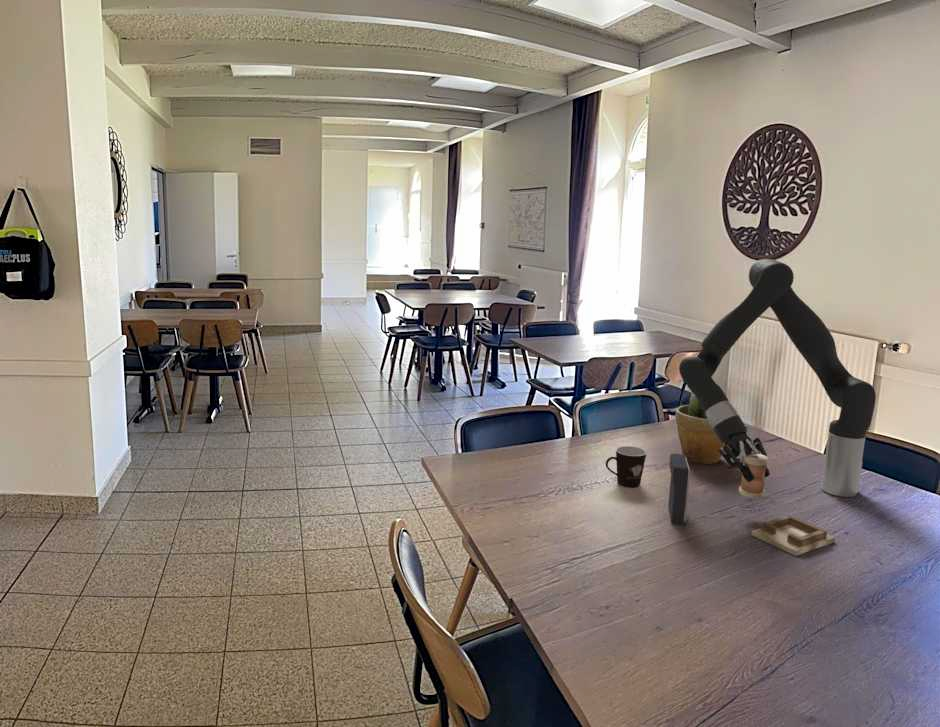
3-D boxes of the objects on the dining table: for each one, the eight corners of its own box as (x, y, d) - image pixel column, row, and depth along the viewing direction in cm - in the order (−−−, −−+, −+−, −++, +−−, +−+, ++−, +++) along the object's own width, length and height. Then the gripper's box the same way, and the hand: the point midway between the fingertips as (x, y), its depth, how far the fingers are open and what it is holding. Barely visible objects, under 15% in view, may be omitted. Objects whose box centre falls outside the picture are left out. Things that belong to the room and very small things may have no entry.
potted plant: (659, 452, 229) (665, 379, 224) (702, 446, 237) (709, 374, 231) (699, 471, 213) (706, 392, 207) (744, 463, 220) (752, 387, 215)
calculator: (686, 525, 175) (691, 469, 172) (668, 523, 176) (673, 467, 173) (682, 507, 185) (687, 454, 182) (665, 506, 186) (670, 453, 183)
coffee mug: (641, 479, 205) (644, 447, 203) (645, 490, 197) (648, 456, 195) (601, 476, 206) (604, 444, 204) (604, 487, 198) (606, 454, 196)
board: (790, 522, 178) (791, 511, 177) (834, 542, 168) (836, 530, 167) (751, 535, 170) (752, 523, 170) (795, 555, 160) (797, 544, 160)
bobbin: (749, 487, 184) (753, 450, 182) (769, 495, 179) (773, 458, 177) (733, 491, 181) (737, 454, 179) (753, 499, 176) (757, 462, 174)
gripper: (715, 418, 179) (750, 477, 171) (752, 410, 186) (787, 467, 178) (698, 432, 184) (731, 490, 177) (734, 424, 192) (767, 479, 184)
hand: (759, 478), depth 178 cm, fingers closed on bobbin, 5 cm apart
